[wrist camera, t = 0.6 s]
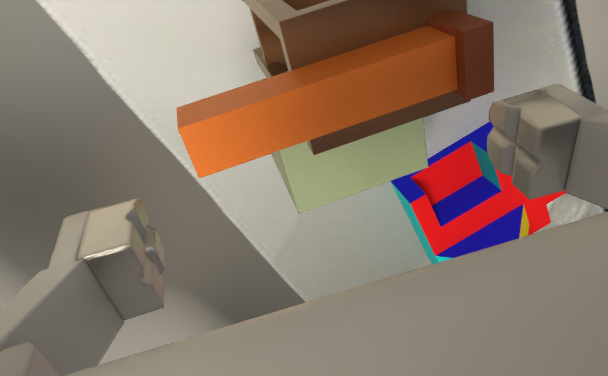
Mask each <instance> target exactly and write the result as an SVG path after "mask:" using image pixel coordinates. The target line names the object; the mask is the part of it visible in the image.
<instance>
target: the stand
mask: <svg viewBox="0 0 608 376" xmlns="http://www.w3.org/2000/svg"><path fill="white" fill-rule="evenodd" d="M243 1H244V2H245V3H246V4H247V6H248V7H249V8H250V11H251V15H252V18H253V22H254V25H255V29H256V32H257V35H258V39H259V42H260V46H261V47H260V48H257V49H254V50H253V51H254V54H255V58H256V61H257V63H258V65H259V66H260V68H261V69H262V71H263V72H264V74H265V75H266V77H267V78H269V77H272V76H276V75H279V74H282V73H285V72H286V71H291V70H294V69H297V68H300V67H303V66H306V65H309V64H312V63H315V62H318V61H321V60H324V59H327V58H331V57H334V56H337V55H340V54H343V53H346V52H349V51H352V50H355V49H358V48H361V47H364V46H367V45H370V44H373V43H376V42H379V41H382V40H386V39H389V38H392V37H395V36H398V35H401V34H404V33H407V32H410V31H413V30H416V29H419V28H422V27H425V26H429V25H428V18H430V17H433V16H436V15H439V14H442V13H445V12H448V11H451V10H456V11H459V12H462V13H466V14H467V2H466V0H243ZM469 101H470V100H465V99H464V98H462V97H460V96H459V95H457V94H455V93H453V92H452V91H451V92H449V93H446V94H443V95H440V96H437V97H434V98H431V99H428V100H425V101H422V102H419V103H417V104H414V105H411V106H408V107H405V108H402V109H399V110H396V111H393V112H390V113H387V114H385V115H382V116H379V117H376V118H373V119H370V120H367V121H364V122H361V123H358V124H355V125H353V126H350V127H347V128H344V129H341V130H338V131H335V132H332V133H329V134H326V135H323V136H321V137H318V138H315V139H312V140H309V141H307V143H308V147H309V149H310V150H311V152H312V153H313V155H316V154H319V153H322V152H325V151H328V150H331V149H334V148H337V147H339V146H342V145H345V144H348V143H351V142H354V141H357V140H360V139H362V138H365V137H368V136H371V135H374V134H377V133H380V132H383V131H386V130H388V129H391V128H394V127H397V126H400V125H403V124H406V123H409V122H411V121H414V120H417V119H420V118H423V117H426V116H429V115H432V114H434V113H437V112H440V111H443V110H446V109H449V108H452V107H455V106H458V105H460V104H463V103H466V102H469Z"/></svg>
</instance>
